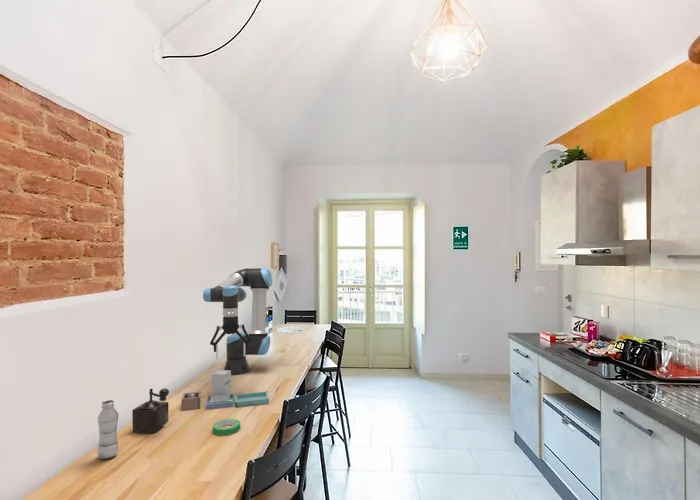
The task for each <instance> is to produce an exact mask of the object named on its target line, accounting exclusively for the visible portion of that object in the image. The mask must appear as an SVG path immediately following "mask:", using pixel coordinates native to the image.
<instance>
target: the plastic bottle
mask: <svg viewBox="0 0 700 500" xmlns="http://www.w3.org/2000/svg"><path fill="white" fill-rule="evenodd" d="M114 403H115V401H114V400H113V399H110V400H109V399H108V400H105V401H102V402H101V411H100V412H99V414H98V417H97V426H98V432H99V437H98V445H97V450H96V451H97V452H96V453H97V457H98V458H99V459H101V460H102V459H103V460H107V459H111V458H113V457H115V456H116V455H117V454H118V452H119V442H118V436H117V431H118V421H119V412H118V411H117V409H115V404H114Z"/></svg>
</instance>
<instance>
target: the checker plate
mask: <svg viewBox="0 0 700 500" xmlns="http://www.w3.org/2000/svg"><path fill="white" fill-rule="evenodd" d="M229 400H230V394H226V395H216V396H211V399H210V404H211V403H220V402H229Z"/></svg>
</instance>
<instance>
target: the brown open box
mask: <svg viewBox="0 0 700 500" xmlns="http://www.w3.org/2000/svg"><path fill="white" fill-rule="evenodd" d="M188 393H189V392H185V393H183V395H182V397H181V400H180V403H181V409H180V410H181V411H190V410H200V409H201V405H202V391H196V392H194V393H196V397H194V398H188Z"/></svg>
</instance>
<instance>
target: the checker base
mask: <svg viewBox="0 0 700 500" xmlns="http://www.w3.org/2000/svg"><path fill="white" fill-rule="evenodd" d="M220 395H226V394H220ZM211 396H216V395H207V399H206V402H205V407H204V411H208V410H218V409H227V408H235V396H234V393H233V392H231V393H230V400H229V402H220V403H211V404H210V399H211Z"/></svg>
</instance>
